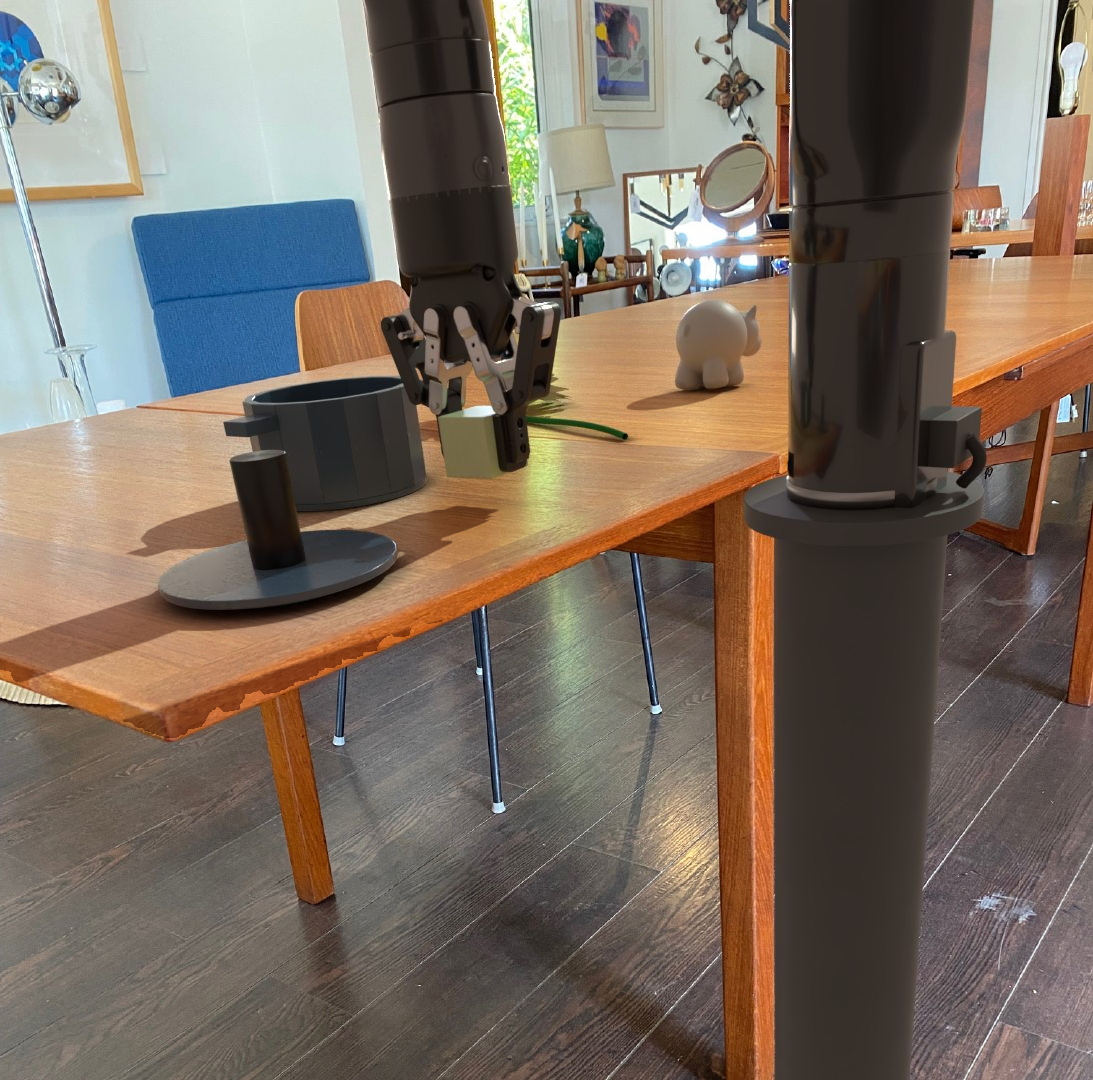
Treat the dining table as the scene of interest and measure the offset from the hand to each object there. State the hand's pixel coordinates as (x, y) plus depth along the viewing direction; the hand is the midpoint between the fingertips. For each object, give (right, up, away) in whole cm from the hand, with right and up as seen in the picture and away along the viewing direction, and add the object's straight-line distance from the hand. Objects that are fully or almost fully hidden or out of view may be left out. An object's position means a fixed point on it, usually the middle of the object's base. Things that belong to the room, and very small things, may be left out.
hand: (486, 467), depth 72 cm
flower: (+3, +11, +29) cm, 32 cm away
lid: (-11, -9, -11) cm, 18 cm away
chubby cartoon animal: (+23, +18, +40) cm, 50 cm away
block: (0, 0, 0) cm, 0 cm away
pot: (-11, 0, +9) cm, 15 cm away
